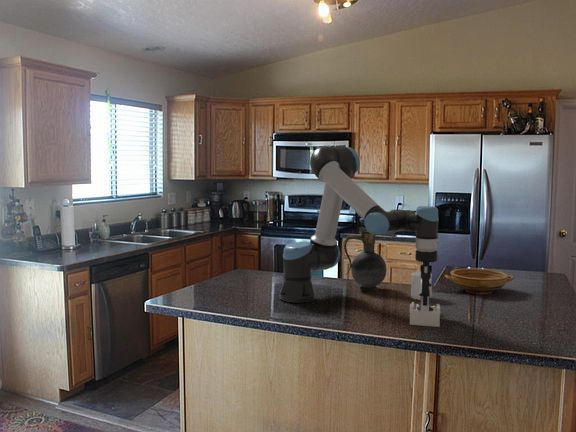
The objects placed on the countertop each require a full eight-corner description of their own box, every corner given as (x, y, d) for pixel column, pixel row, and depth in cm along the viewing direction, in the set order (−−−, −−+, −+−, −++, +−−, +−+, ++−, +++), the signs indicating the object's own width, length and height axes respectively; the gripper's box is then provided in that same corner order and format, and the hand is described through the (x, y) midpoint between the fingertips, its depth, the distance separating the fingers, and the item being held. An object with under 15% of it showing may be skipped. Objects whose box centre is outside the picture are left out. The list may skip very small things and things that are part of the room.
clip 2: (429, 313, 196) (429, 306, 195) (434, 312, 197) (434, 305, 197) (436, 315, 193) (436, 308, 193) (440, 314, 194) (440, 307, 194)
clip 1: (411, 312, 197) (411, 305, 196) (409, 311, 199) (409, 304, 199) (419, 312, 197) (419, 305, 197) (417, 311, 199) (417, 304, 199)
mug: (433, 303, 211) (433, 278, 210) (412, 302, 212) (412, 277, 211) (430, 296, 223) (430, 272, 222) (410, 295, 224) (410, 271, 223)
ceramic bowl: (451, 297, 220) (452, 278, 219) (438, 284, 244) (438, 267, 243) (523, 298, 218) (524, 279, 218) (503, 285, 242) (503, 268, 242)
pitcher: (388, 292, 229) (389, 224, 227) (344, 292, 229) (345, 224, 227) (383, 286, 240) (384, 221, 237) (342, 286, 240) (342, 222, 238)
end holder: (409, 324, 182) (409, 310, 181) (411, 315, 193) (411, 302, 193) (439, 326, 179) (439, 312, 179) (439, 317, 191) (439, 303, 190)
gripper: (437, 256, 173) (436, 319, 175) (437, 244, 196) (435, 300, 198) (414, 255, 175) (413, 318, 177) (416, 244, 198) (415, 299, 200)
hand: (425, 309), depth 188 cm, fingers open, 12 cm apart
